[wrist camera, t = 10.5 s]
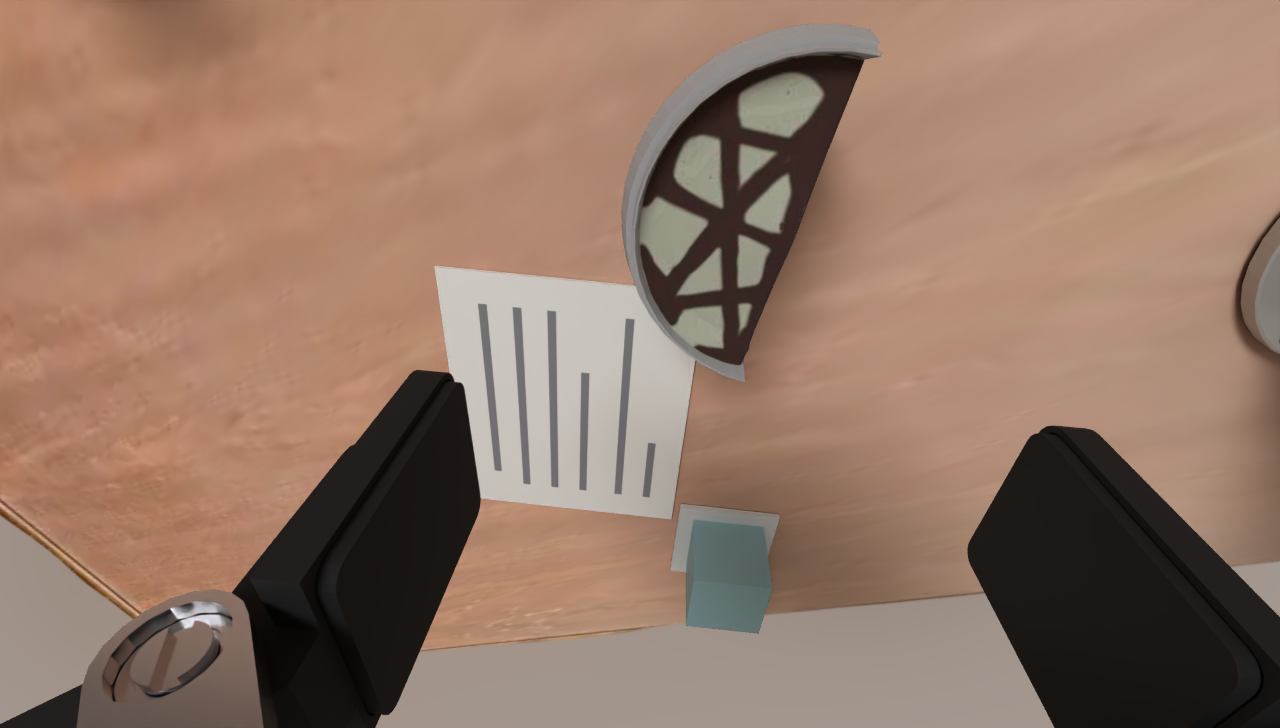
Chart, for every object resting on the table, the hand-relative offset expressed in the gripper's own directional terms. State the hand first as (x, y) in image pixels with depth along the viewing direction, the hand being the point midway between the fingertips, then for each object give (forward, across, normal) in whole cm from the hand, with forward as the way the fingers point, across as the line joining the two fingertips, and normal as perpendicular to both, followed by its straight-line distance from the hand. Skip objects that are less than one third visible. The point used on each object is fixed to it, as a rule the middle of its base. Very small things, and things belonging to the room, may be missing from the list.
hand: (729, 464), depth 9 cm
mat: (+20, -4, +26) cm, 33 cm away
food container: (+20, 0, -1) cm, 21 cm away
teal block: (+20, -4, +26) cm, 33 cm away
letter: (+20, +7, +15) cm, 26 cm away
